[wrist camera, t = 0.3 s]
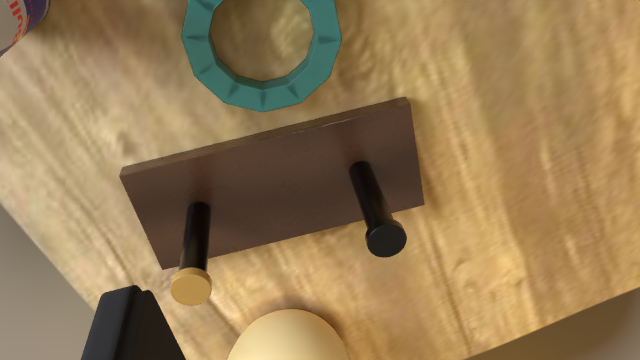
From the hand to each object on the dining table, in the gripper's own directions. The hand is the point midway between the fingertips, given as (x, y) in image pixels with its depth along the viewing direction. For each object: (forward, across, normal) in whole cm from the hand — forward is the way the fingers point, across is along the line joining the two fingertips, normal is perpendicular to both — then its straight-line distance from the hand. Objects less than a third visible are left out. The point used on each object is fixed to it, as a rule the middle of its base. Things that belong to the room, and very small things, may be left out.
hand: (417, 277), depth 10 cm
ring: (+35, +3, +4) cm, 36 cm away
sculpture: (+36, +9, +35) cm, 51 cm away
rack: (+36, +5, +17) cm, 40 cm away
